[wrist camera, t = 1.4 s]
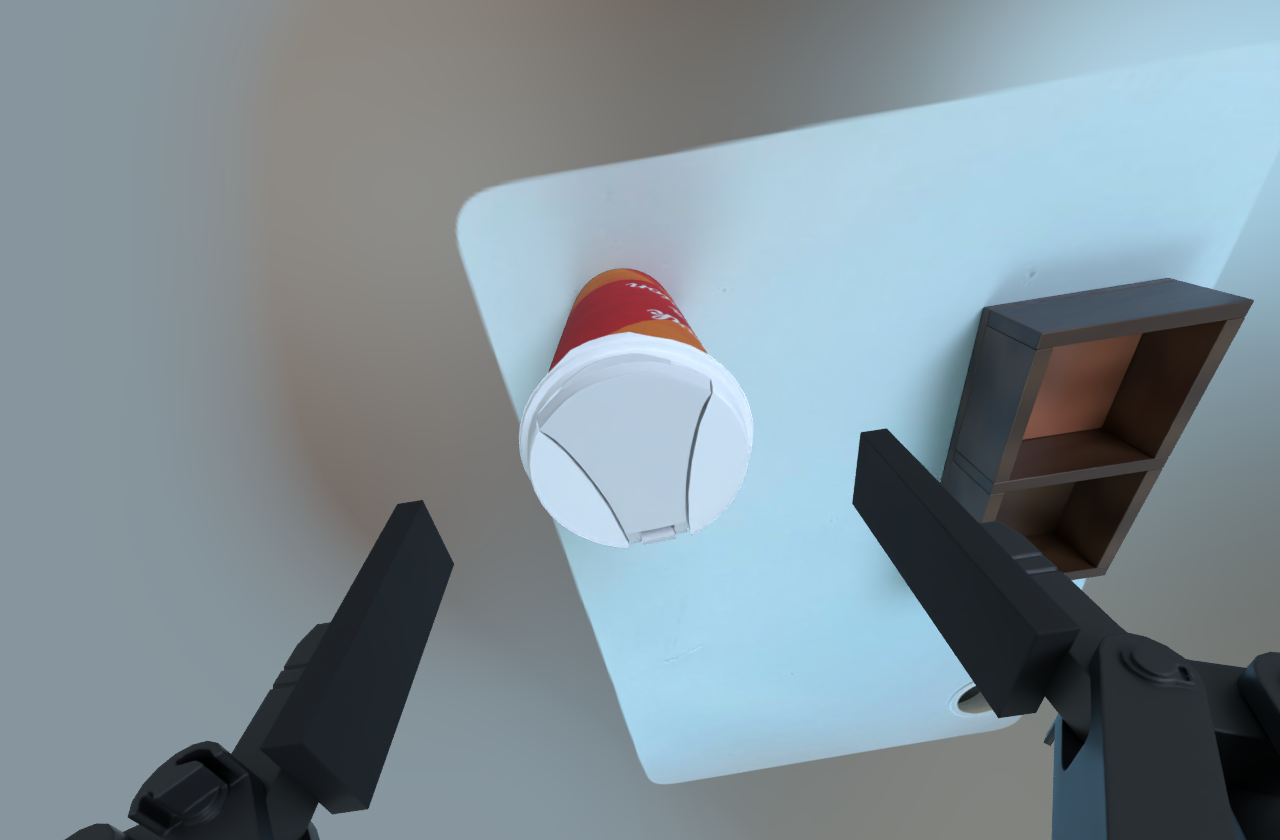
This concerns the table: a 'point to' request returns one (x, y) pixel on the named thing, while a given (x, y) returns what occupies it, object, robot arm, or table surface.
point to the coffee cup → (634, 420)
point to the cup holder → (1083, 410)
